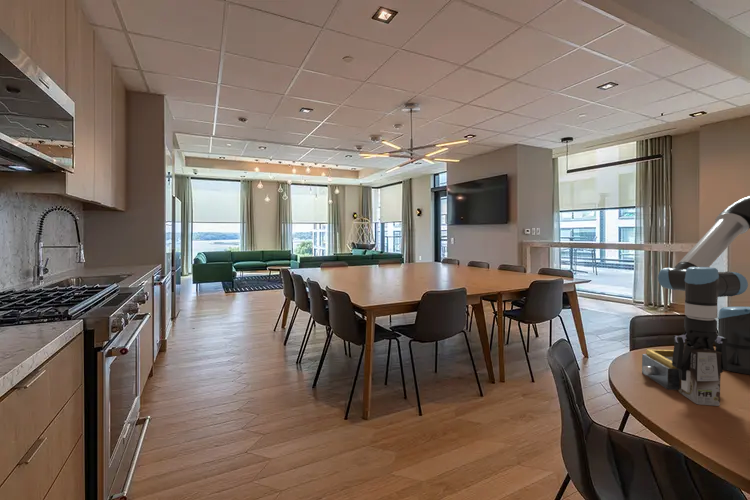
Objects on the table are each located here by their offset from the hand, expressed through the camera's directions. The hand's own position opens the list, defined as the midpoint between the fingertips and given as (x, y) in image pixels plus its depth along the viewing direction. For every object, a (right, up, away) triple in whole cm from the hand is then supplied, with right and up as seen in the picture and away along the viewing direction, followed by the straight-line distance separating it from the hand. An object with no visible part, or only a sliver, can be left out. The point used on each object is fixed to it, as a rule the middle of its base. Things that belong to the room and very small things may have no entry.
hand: (698, 390), depth 113 cm
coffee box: (0, -3, 0) cm, 3 cm away
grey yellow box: (+2, -2, +13) cm, 14 cm away
